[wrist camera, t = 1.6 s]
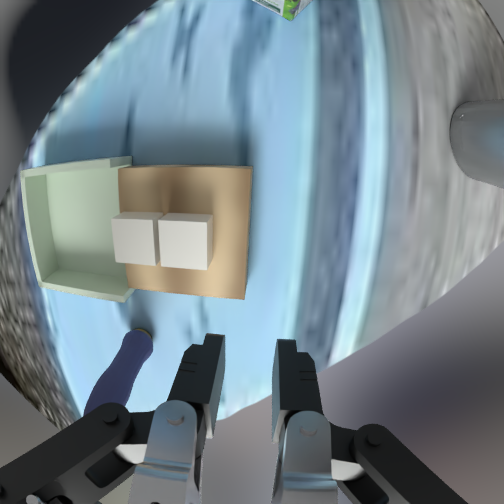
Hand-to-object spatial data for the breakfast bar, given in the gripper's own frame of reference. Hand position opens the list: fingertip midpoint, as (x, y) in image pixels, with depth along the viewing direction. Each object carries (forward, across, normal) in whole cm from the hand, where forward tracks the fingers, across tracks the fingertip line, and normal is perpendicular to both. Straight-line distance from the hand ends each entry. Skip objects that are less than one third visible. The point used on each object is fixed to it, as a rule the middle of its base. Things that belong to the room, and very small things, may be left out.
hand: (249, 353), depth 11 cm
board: (+17, +7, 0) cm, 18 cm away
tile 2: (+14, +10, 0) cm, 18 cm away
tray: (+17, +20, 0) cm, 26 cm away
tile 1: (+14, +6, 0) cm, 15 cm away
